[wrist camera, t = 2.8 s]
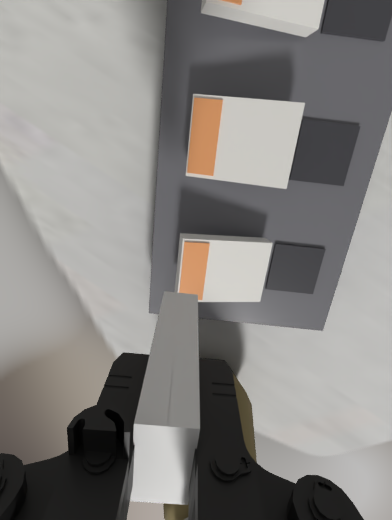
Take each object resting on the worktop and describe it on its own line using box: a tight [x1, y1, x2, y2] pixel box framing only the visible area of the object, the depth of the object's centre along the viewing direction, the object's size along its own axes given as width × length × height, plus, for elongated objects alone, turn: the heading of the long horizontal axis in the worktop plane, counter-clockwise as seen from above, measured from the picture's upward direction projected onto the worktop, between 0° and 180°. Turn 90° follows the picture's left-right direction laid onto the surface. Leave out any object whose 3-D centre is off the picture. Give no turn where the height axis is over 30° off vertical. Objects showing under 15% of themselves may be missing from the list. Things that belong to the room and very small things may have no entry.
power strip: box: [149, 0, 392, 331], centre depth 20 cm, size 21×26×5 cm
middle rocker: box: [186, 94, 305, 189], centre depth 17 cm, size 6×4×1 cm
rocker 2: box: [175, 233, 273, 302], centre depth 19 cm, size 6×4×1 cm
